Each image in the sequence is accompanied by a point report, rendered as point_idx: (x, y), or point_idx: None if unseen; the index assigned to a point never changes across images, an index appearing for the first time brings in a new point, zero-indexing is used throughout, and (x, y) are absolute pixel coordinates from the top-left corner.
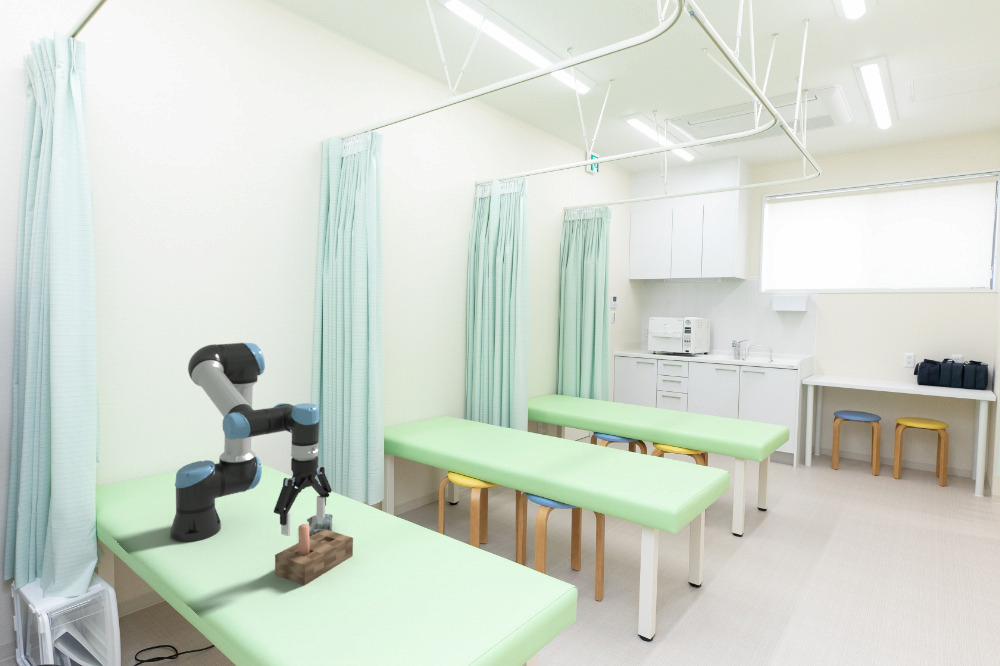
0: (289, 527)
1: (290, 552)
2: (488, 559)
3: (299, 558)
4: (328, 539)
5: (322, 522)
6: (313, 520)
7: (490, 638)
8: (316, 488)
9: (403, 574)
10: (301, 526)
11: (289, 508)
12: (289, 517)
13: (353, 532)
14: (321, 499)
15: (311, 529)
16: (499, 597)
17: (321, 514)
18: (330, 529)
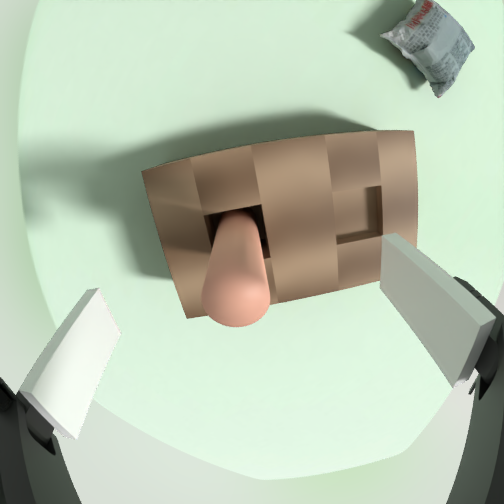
0: (102, 365)
1: (195, 199)
2: (442, 396)
3: (195, 268)
4: (376, 196)
5: (439, 59)
6: (427, 23)
7: (292, 475)
8: (458, 497)
9: (365, 377)
10: (223, 290)
11: (60, 469)
12: (79, 417)
13: (465, 139)
14: (453, 362)
15: (399, 41)
16: (363, 449)
17: (392, 289)
18: (438, 92)
